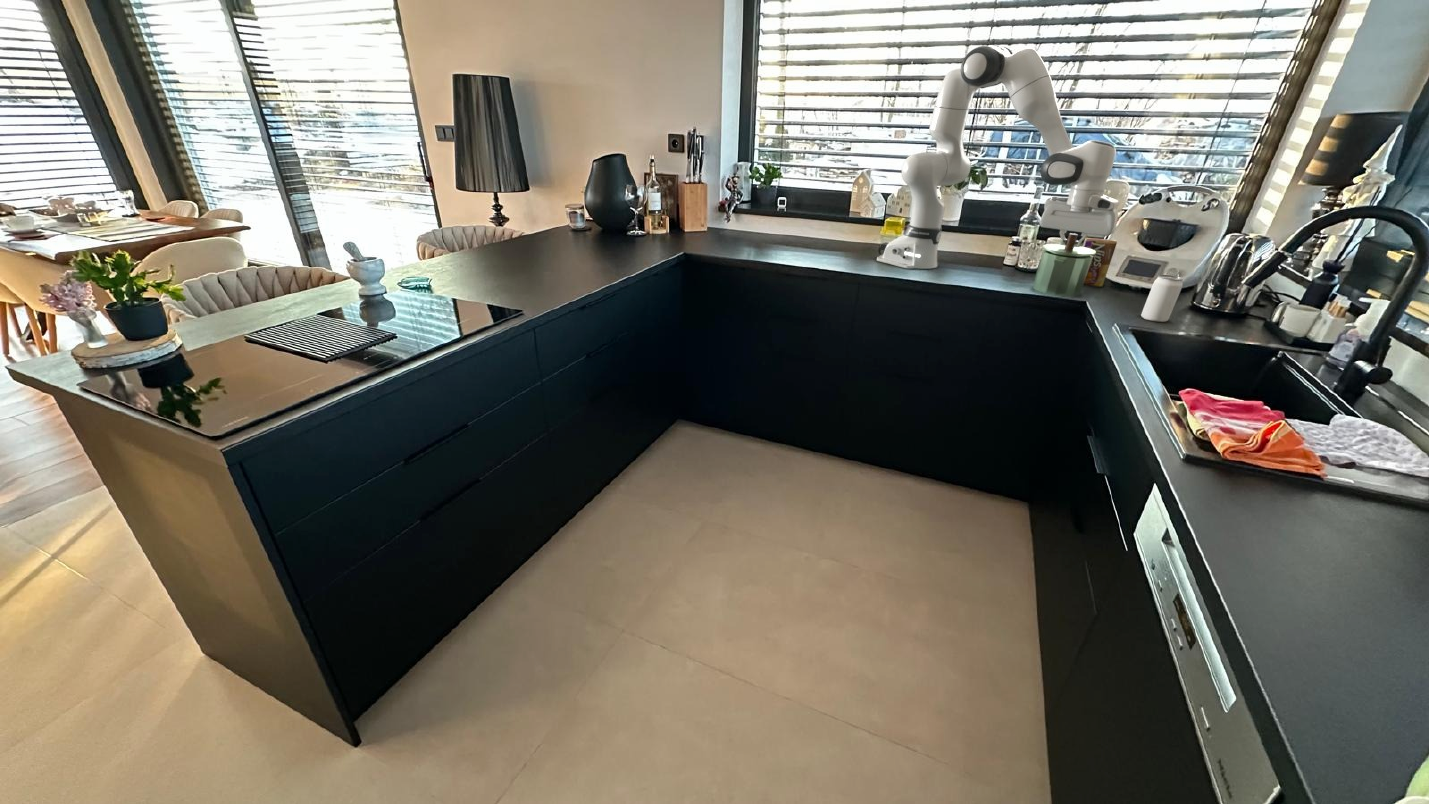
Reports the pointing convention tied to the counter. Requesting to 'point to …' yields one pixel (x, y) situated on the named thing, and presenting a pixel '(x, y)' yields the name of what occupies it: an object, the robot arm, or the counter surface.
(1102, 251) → the candy box
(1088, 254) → the lid
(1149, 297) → the can
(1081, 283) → the pot
